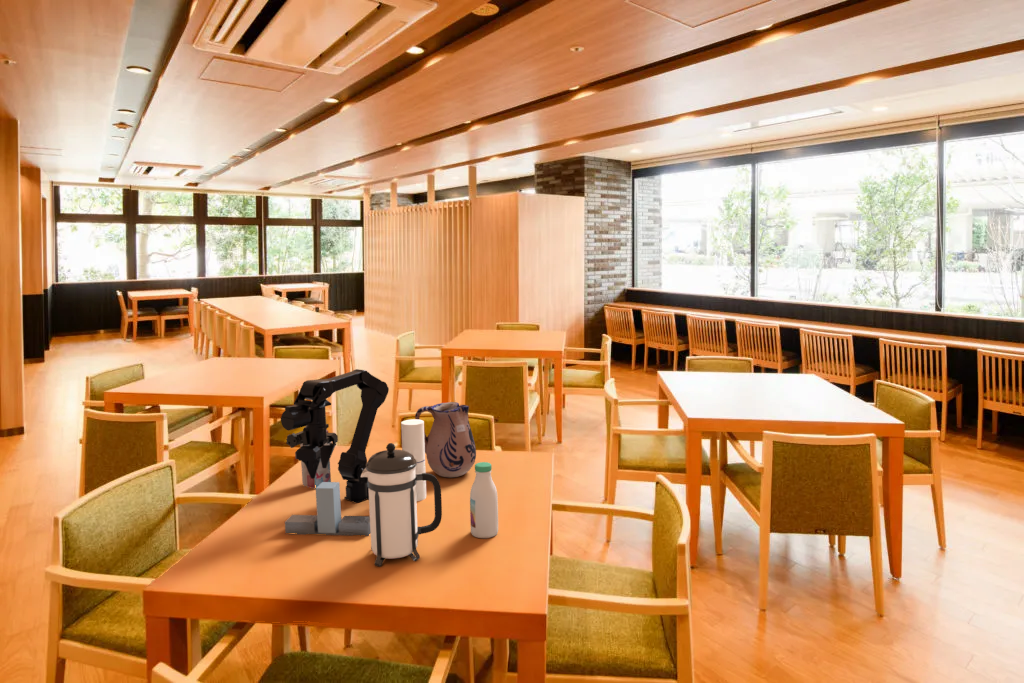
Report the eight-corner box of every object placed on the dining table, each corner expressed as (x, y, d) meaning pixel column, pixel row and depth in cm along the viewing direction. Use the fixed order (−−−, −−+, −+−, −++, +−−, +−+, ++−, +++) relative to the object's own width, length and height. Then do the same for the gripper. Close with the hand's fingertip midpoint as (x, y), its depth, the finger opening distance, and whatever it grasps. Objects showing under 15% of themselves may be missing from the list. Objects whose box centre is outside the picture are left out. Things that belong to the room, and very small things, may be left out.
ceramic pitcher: (479, 480, 221) (477, 410, 217) (417, 484, 217) (415, 413, 214) (473, 464, 238) (472, 399, 235) (416, 468, 234) (414, 401, 231)
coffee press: (400, 575, 155) (395, 456, 151) (353, 559, 163) (347, 446, 160) (444, 547, 170) (441, 438, 166) (399, 534, 178) (395, 430, 174)
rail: (293, 526, 184) (292, 514, 184) (373, 528, 182) (373, 516, 182) (285, 534, 179) (284, 521, 179) (368, 535, 178) (368, 523, 177)
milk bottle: (502, 529, 181) (501, 461, 178) (492, 540, 173) (491, 469, 171) (477, 525, 183) (475, 458, 180) (466, 537, 176) (464, 467, 173)
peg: (324, 525, 184) (322, 482, 182) (341, 525, 183) (339, 482, 181) (318, 532, 179) (315, 488, 177) (335, 533, 178) (333, 488, 177)
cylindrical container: (399, 499, 204) (396, 423, 201) (411, 492, 210) (408, 418, 207) (419, 502, 201) (416, 425, 198) (430, 494, 208) (427, 420, 205)
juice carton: (331, 483, 220) (327, 421, 217) (315, 489, 214) (312, 425, 212) (318, 480, 224) (314, 418, 221) (302, 485, 218) (298, 423, 215)
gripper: (302, 414, 199) (305, 462, 201) (276, 430, 181) (279, 483, 183) (337, 415, 198) (339, 463, 200) (314, 431, 180) (317, 484, 182)
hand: (318, 473), depth 191 cm, fingers open, 9 cm apart
